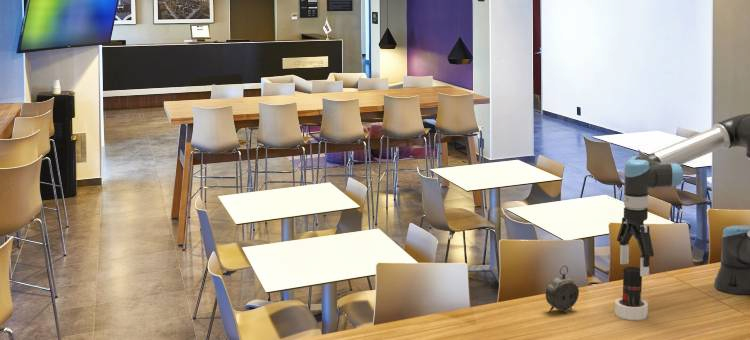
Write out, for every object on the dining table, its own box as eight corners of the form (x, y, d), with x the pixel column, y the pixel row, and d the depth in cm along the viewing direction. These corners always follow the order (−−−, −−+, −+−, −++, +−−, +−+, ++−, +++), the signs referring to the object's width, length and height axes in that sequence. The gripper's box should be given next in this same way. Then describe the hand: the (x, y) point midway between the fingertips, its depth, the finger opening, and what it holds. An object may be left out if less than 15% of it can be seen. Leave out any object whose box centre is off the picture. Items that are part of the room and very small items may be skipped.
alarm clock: (571, 307, 302) (572, 261, 299) (580, 312, 297) (582, 266, 294) (544, 311, 298) (545, 265, 295) (553, 316, 293) (554, 270, 290)
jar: (637, 308, 300) (638, 296, 299) (653, 318, 290) (653, 306, 289) (609, 310, 298) (610, 299, 297) (624, 321, 288) (624, 309, 287)
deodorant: (641, 316, 290) (643, 272, 287) (622, 315, 291) (624, 271, 288) (639, 309, 296) (641, 267, 293) (621, 309, 297) (622, 266, 294)
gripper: (607, 199, 298) (606, 260, 302) (644, 217, 274) (642, 282, 278) (628, 198, 299) (626, 258, 304) (666, 215, 275) (664, 279, 280)
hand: (634, 269), depth 291 cm, fingers open, 13 cm apart
